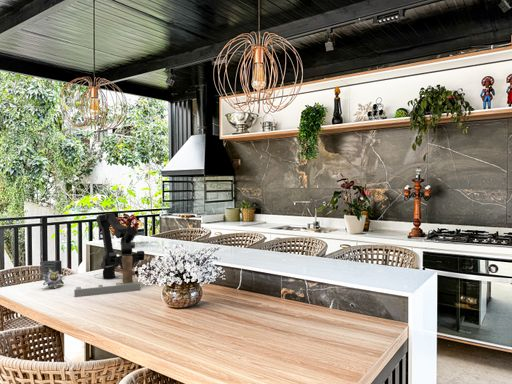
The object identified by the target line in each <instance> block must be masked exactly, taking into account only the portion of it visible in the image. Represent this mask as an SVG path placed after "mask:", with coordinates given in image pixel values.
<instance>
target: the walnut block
mask: <svg viewBox="0 0 512 384" xmlns="http://www.w3.org/2000/svg"><path fill="white" fill-rule="evenodd" d="M121 261H122V266H123V270H122V269H121V271H122V283H133V282H134V281H133V279H134V278H133V275H134V274H133V269H132V262H133V258H132V255H129V256H122V259H121Z"/></svg>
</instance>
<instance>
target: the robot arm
mask: <svg viewBox="0 0 512 384" xmlns="http://www.w3.org/2000/svg"><path fill="white" fill-rule="evenodd" d="M95 219H96V220H95V221H96V223H97V227H98V228H99V229H100V230H101V236H102V242H103V249H104V253H103V256H102V261H101V263H100V269H103V270H102V278H103V280H105V279H106V280H108V279H115V278H116V270H115V269H116V268H118V266H119V267H120V269H121V271H122V270H123V266H122V256H129V255H132V270H134V268H135V265H136V263H138V262H139V261H145V251H144V250H137V251H136V253H133V249H136V243H135V241H134V239H135V238H136V236H137V234H138V231H137V229H136V228H133V227H132V226H130V225H129V226H127V225H123V224H121V222H120V221H119V220H118V217H116V215H115V213H114V212H106V213H104V214H99V215H98V216H97V217H96V218H95ZM111 227H112V229H113V230H114V233H113V234H114V236H115V238H116V239H120V253H117V252H115V251H114V247H113V241H112V235H111V229H110V228H111Z"/></svg>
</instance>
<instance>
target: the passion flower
mask: <svg viewBox="0 0 512 384" xmlns="http://www.w3.org/2000/svg"><path fill="white" fill-rule="evenodd" d="M41 277H42V279H41V280H42V281H44V282H43V283H42V285H43V286H49V287H48V288H49V289H51V288H52V289H54V288H55V289H56V288H57V285H59V286H63V285H64V281H63V280H65V277H63V273H62V274H61V275H59V273H58V271H56V272H53V271H51V270H49V272H48V273H47V274H46V275H45V274H43V276H42V275H41V274H40V278H41ZM43 277H44V278H43Z"/></svg>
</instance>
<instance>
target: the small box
mask: <svg viewBox="0 0 512 384" xmlns="http://www.w3.org/2000/svg"><path fill="white" fill-rule="evenodd" d="M39 263H40V280H43V279H42V277H41V275H42V276H43V274H45V275H46V274H47V273H48V272H49V270H51V271H53V272H56V271H58V273H59V275H61V274H62V275H63V270H62V269H63V268H62V266H63V265H62V260H44V261H41V262H39ZM43 278H44V277H43Z"/></svg>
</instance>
